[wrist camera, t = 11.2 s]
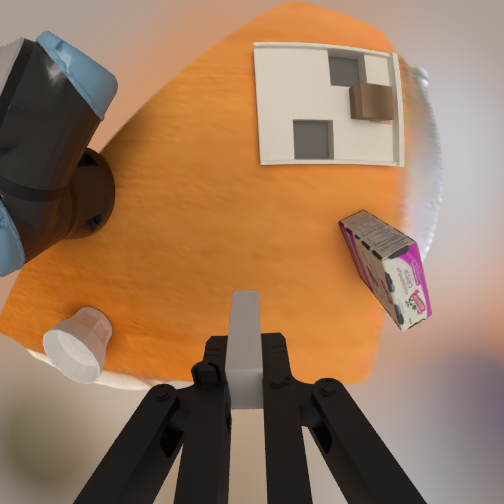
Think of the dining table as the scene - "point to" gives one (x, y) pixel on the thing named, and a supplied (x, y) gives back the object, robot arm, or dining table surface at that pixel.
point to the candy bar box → (389, 267)
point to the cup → (79, 345)
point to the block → (371, 102)
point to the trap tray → (323, 105)
